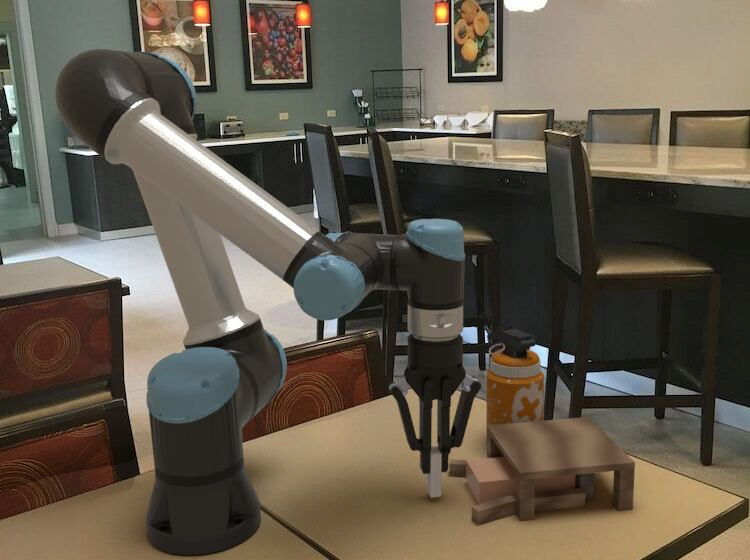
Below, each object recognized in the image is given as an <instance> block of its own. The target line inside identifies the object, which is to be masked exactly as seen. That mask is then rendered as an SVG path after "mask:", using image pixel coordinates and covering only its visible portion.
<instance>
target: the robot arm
mask: <svg viewBox="0 0 750 560" xmlns="http://www.w3.org/2000/svg"><path fill="white" fill-rule="evenodd" d="M54 91H55V92H54V94H55V103H56V108H57V111H58V112H59V115H60V117H61V118H62V121H63V123H64V124H65V125H66V127H67V128H68V129H69V130H70V132H71V133H72V134H73V135H74V136H75V137H76V138H77V139H79V141H81V142H82V143H83V144H84V145H85V146H87V147H88V148H89V149H91V150H92V151H93V152H95V153H96V154H97V155H99V156H100V157H101V158H103V159H104V160H105V161H107V162H108V163H109V164H112V165H121V164H123V165H125V166H128V167H129V169H131V170H132V172H133V174H134V178H135V180H136V183H137V186H138V188H139V189H138V190H139V191H140V194H141V197H142V199H143V202H144V206H145V207H146V211H147V214H148V217H149V220H150V222H151V224H152V227H153V231H154V233H155V236H156V239H157V241H158V244H159V247H160V250H161V253H162V256H163V259H164V261H165V264H166V266H167V269H168V273H169V276H170V278H171V281H172V283H173V286H174V289H175V292H176V295H177V298H178V301H179V303H180V306H181V309H182V311H183V315H184V317H185V320H186V322H187V326H188V329H187V332H186V334H185V336H184V338H183V340H182V344H183V346H184V349H182V350H181V352H174V353H171V354H169V355H167V356H165V357H163V358H161V359H160V360H158V361H157V363H155V364H154V366H152V368H151V369H150V370H149V373H148V376H147V379H146V380H147V381H146V382H147V384H146V386H147V387H146V388H147V391H146V407H147V409H148V417H149V426H150V436H151V444H152V454H153V464H154V465H153V466H154V474H155V476H154V477H155V479H154V482H153V483H154V484H153V488H152V492H151V496H150V500H149V504H148V507H147V513H146V516H145V517H146V518H145V519H146V520H145V525H146V534H147V539H148V541H149V542H150V543H151V545H152V546H154V547H155V548H157V549H158V550H161V551H163V552H166V553H170V554H174V555H180V556H181V555H182V556H198V555H207V554H212V553H217V552H221V551H224V550H227V549H230V548H232V547H236V546H237V545H239V544H241V543H242V542H244V541H246V540H247V539H249V538H250V537H251V536H252V535H253V534H254V533H256V531H257V530H258V528H259V526H260V525H261V522H262V513H261V502H260V499H259V497H258V495H257V492H256V490H255V488H254V485H253V483H252V482H251V479H250V476H249V474H248V471H247V469H246V468H245V458H244V445H243V444H244V443H243V428H244V427H245V426H246V424H247V423H249V422H251V420H252V419H253V418H254V417H255V416H256V415H257V414H258V413H259V412H260V411H261V410H262V409H264V407H266V406H267V405H269V404H271V402H272V401H273V400H274V398H275V397H276V396H277V394H278V392H279V391H280V389H281V388H282V386H283V384H284V382H285V379H286V375H287V371H288V369H287V368H288V362H287V356H286V353H285V350H284V347H283V346H282V344H281V342H280V341H279V339H278V338H277V337H276V336H275V335H274V334H271V333H270V332H268V330H267V329H265V328H264V326H263V322H262V319H261V317H260V315H259V314H258V313H256V312H254V311H252V310H250V309H248V308H247V307H246V306H245V302H244V300H243V296H242V293H241V290H240V288H239V286H238V285H239V284H238V282H237V279H236V277H235V274H234V271H233V268H232V264H231V263H230V260H229V257H228V254H227V250H226V247H225V244H224V242H223V240H222V237H224V239H226V240H228V241H230V243H232V244H233V245H235V246H236V247H237V248H239V249H240V250H241V251H243V252H244V253H245V254H247V256H249V257H250V258H252V259H253V260H255V261H256V262H258V263H259V264H260V265H262V267H265V268H266V269H267V270H268V271H270V272H271V273H273V274H274V275H275V276H276V277H278V278H279V279H280V280H282V281H283V282H285V283H286V284H287V285H289V286H290V287H291V288H292V289H293V295H294V298H295V300H296V303H297V304H298V306H299V307H300V309H301V310H302V312H304V314H306V315H307V316H309V317H311V318H313V319H315V320H319V321H333V320H334V321H335V320H336V319H337V320H338V319H339V318H341V317H343V316H345V315H347V314H349V313H351V312H352V311H353V310H354V309H355V308H357V307H358V306H360V304H361V303H362V301H363V300H364V298H365V297H367V296H368V295H369V294H370V293H371V292H372V291H374V290H386V291H387V290H388V291H406V292H407V293H406V294H407V331H408V333H410V334H409V335H408V336H407V366H406V367H405V370H404V371H403V372H404V373H403V376H402V377H401V378H400V379H398V380H397V381H390V382H389V383H388V389H389V391H390V393H391V395H392V397H393V398H394V399H395V401H396V404H397V408H398V412H399V415H400V419H401V423H402V424H401V425H402V427H403V431H404V435H405V439H406V443H407V444H408V447H409V448H410V450H411V451H413V452H415V451H418V452H419V467H420V470H421V472H422V474H423V475H426V490H427V493H428V495H429V496H430V497H429V498H431V499H432V498H440V497H442V473H447V472H448V470H449V455H450V453H451V451H452V450H453V449H454V448H460V447H461V446H463V442H464V438H465V434H466V430H467V426H468V422H469V418H470V416H471V411H472V407H473V405H474V404H473V403H474V401H475V398H476V396H477V394H478V393H479V392H480V391H481V389H482V383H480V381H479V380H478V378H477V377H475V376H470V375H468V374H467V371H466V369H465V367H464V364H463V361H464V360H463V359H464V357H463V356H464V355H463V354H464V353H463V352H464V349H463V348H464V338H463V337H464V336H462V335H461V333H463V332H464V331H463V330H464V293H465V291H464V290H465V288H464V287H465V264H466V263H465V262H466V253H465V239H464V238H465V237H464V235H465V234H464V227H463V226H462V225H461V223H459V222H458V221H456V220H451V219H445V218H444V219H443V218H421V219H420V218H419V219H415V220H412V221H410V223H408V225H407V231H406V232H405V233H403V234H383V233H382V234H380V233H378V234H377V233H362V232H352V231H345V232H330V233H327V234H326V235H325V234H324V233H322V232H321V231H320V230H319V229H317V228H316V227H315V226H313V225H312V224H311V223H310V222H308V221H307V220H306V219H304V218H303V217H301V216H300V215H298V214H297V213H296V212H294V211H293V210H292V209H290V208H289V207H288V206H286V205H285V204H284V203H283V202H282V201H280V200H278V199H277V198H276V197H274V196H273V195H271V194H270V193H269V192H267V191H266V190H264V189H263V188H262V187H260V185H258V184H256V183H255V182H254V181H253V180H251V179H249V178H248V177H247V176H245V175H244V174H243V173H242V172H240V171H239V170H237V169H236V168H234V167H233V166H232V165H230V164H229V163H227V161H225V160H224V159H223V158H221V157H219V156H218V155H217V154H215V153H214V152H213V151H212V150H210V149H209V148H207V147H206V146H204V144H203V143H200V142H199V141H198V140H197V139H198V137H199V136H198V134H197V131H196V127H195V125H194V121H193V120H194V117H195V116H194V115H195V112H196V111H197V104H198V103H197V102H198V99H197V93H196V92H197V91H196V89H195V86H194V84H193V81H192V79H191V77H190V75H188V73H187V72H186V71H185V69H184V68H183V67H181V66H180V64H178V63H177V62H175V61H173V60H172V59H171V58H168V57H165V56H162V55H160V54H157V53H154V52H148V51H137V52H135V51H125V50H124V51H122V50H113V49H106V48H95V49H90V50H86V51H82V52H79V53H78V54H76V55H75V56H73V57H71V59H69V61H68V62H67V63H66V64H65V65H64V66H63V67H62V69H61V70H60V72H59V75H58V77H57V79H56V84H55V90H54ZM408 386H410V388H411V389H412V391H413V392H414V394H416V395H417V397H418V400H419V415H418V416H419V422H418V424H419V425H418V426H419V427H418V429H419V430H418V431H419V433H418V434H419V436H418V437H417V434H416V429H415V427H414V422H413V419H412V415H411V411H410V407H409V404H408V403H409V402H408V401H407V398H406V396H407V395H408V394H409V393H408ZM460 386H461V391H460V394H459V399H458V402H457V406H456V409H455V414H454V417H453V418H454V419H453V421H452V425H451V407H452V396H453V395H454V393H456V391H457V389H458V388H459V387H460ZM433 401H437V402H436V403H437V407H436V408H437V412H436V413H437V415H436V416H437V417H436V419H437V422H436V423H437V424H436V426H437V427H436V432H437V433H436V437H437V438H436V443H437V445H433V446H432V432H433V431H432V427H433V426H432V425H433V424H432V421H433V419H432V418H433V417H432V415H433V414H432V412H433V411H432V410H433V407H434V406H433Z"/></svg>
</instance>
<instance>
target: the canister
mask: <svg viewBox="0 0 750 560" xmlns="http://www.w3.org/2000/svg"><path fill="white" fill-rule="evenodd" d="M486 336H487V337H486V338H487V344H488V349H489V350H488V353H489V356H488V357H489V358H488V359H489V361H488V362H489V363H488V367H489V368H488V370H487V371H486V426H487V425H499V424H510V423H522V422H534V421H544V401H545V400H544V395H545V394H544V393H545V392H544V391H545V374H544V372H543V371H542V370H541V367H542V366H541V365H542V364H541V363H542V361H541V358H540V356H539V354H538V353H537V352H535V351H533V350H531V348H532V347H535V346H536V344H537V342H536V341H535V339H533V337H532V336H533V335H532V334H530V333H525V332H523V331H521V330H518V329H516V328H515V327H514V325H513V324H510V325H509V326H507V327H506V328H504V329H503V328H502V327H501V326H499V327H498V328H497V327H496V329H494V330H493V331H492V332H490V333H488V334H487V335H486ZM496 337H497V338H498V341H496V342H493V341H492V340H494V339H495V338H496ZM485 437H486V443H485V444H486V445H487V435H486V436H485Z"/></svg>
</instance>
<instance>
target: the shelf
mask: <svg viewBox="0 0 750 560" xmlns="http://www.w3.org/2000/svg"><path fill="white" fill-rule="evenodd" d="M486 436H487V444H486V458H497V457H505V458H506V460H507V461H508V463H509V464H510V466H511V467H512V468H513V470H514V471H515V473H516V491H515V495H512V496H511V495H509V496H506V497H503V498H499V499H496V500H492V501H489V502H486V503H482V504H479V505H478V504H476V505H472V506H471V521H472V522H473V523H475V524H476V525H477V526H479V525H484V524H487V523H489V522H492V521H496V520H499V519H502V518H506V517H508V516H512V515H516V517H517V519H518V520H519V521H520V522H523V521H533V520H535V513H536V512H542V511H543V512H544V511H545V512H546V511H553V510H564V509H574V508H583V507H586V500H594V498H595V495H594V494H595V474H597V473H607V472H613V484H612V489H613V490H612V505H613V506H614V507H615V509H616V510H618V511H619V512H620V511H621V512H622V511H631V510H633V508H634V493H635V492H634V490H635V470H636V467H635V466H636V462H635V460H633V459H632V458H631V456H629V455H628V454H627V453H626V452H625V451H624V450H623V449H622V448H621V447H619V445H618V444H616V443H615V442H614V441H613V439H612V438H611V437H609V436H608V435H607V434H606V433H605V432H604V431H603V430H602V429H601V428H600V427H599V426H598V425H597V424H595V422H593V420H592V419H590V418H589V417H588V416H581V417H571V418H559V419H557V418H556V419H548V420H543V421H534V422H522V423H510V424H499V425H487V424H486ZM466 460H467V459H466ZM466 460H465V459H451V458H450V459H449V462H448V470H449V477H459V478H462V477H463V478H466ZM567 475H576V480H575V489H568V490H557V491H547V492H537V493H535V478H546V477H556V476H567Z"/></svg>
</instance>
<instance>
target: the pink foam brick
mask: <svg viewBox="0 0 750 560" xmlns="http://www.w3.org/2000/svg"><path fill="white" fill-rule="evenodd" d="M465 478H466V479H465V480H466V482H465V483H466V485H467V487H468V488H469V491H470V492H471V495H473V497H474V499H475V501H476V503H477V505H479V504H482V503H486V502H489V501H492V500H496V499H499V498H503V497H506V496H509V495H511V496H512V495H515V491H516V473H515V471H514V470H513V468H512V467H511V466H510V464H509V463H508V461H507V460H506V458H505V457H497V458H487V457H486V458H479V459H466V477H465ZM575 480H576V475H567V476H556V477H546V478H535V493H537V492H547V491H557V490H568V489H575Z"/></svg>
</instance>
